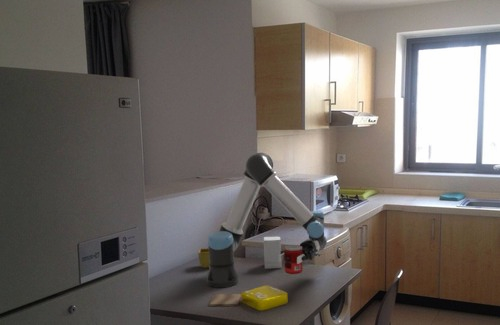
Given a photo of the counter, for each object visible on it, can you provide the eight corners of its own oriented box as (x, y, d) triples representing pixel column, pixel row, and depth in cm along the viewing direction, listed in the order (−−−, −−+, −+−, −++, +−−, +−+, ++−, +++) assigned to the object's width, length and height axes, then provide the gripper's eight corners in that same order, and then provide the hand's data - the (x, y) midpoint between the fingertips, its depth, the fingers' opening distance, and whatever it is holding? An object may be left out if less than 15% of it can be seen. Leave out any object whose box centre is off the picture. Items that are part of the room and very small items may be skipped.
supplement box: (282, 268, 249) (280, 239, 248) (264, 269, 249) (263, 240, 248) (281, 263, 258) (280, 236, 257) (264, 264, 258) (263, 236, 257)
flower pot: (215, 268, 253) (214, 252, 252) (198, 269, 253) (197, 252, 253) (216, 264, 262) (216, 248, 261) (200, 264, 262) (200, 248, 261)
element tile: (289, 303, 198) (289, 291, 198) (260, 312, 190) (260, 300, 189) (267, 294, 211) (267, 283, 210) (239, 302, 202) (239, 291, 202)
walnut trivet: (209, 305, 198) (209, 304, 198) (213, 296, 210) (213, 294, 210) (238, 305, 197) (238, 303, 197) (241, 295, 209) (241, 294, 209)
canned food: (304, 270, 212) (304, 245, 211) (299, 275, 205) (298, 249, 204) (288, 268, 215) (288, 244, 215) (282, 273, 208) (281, 248, 207)
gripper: (330, 258, 221) (311, 271, 201) (289, 253, 230) (267, 265, 211) (329, 241, 220) (311, 253, 200) (288, 238, 230) (267, 248, 210)
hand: (288, 259), depth 205 cm, fingers closed on canned food, 8 cm apart
